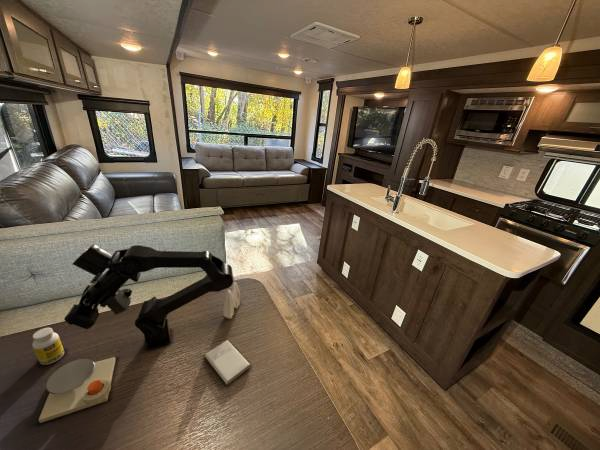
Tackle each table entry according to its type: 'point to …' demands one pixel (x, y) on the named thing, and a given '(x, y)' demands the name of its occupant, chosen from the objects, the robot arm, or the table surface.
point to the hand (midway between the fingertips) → (74, 317)
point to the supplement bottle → (47, 346)
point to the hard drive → (227, 361)
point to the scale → (80, 393)
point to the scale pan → (70, 376)
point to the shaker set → (231, 301)
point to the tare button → (95, 387)
